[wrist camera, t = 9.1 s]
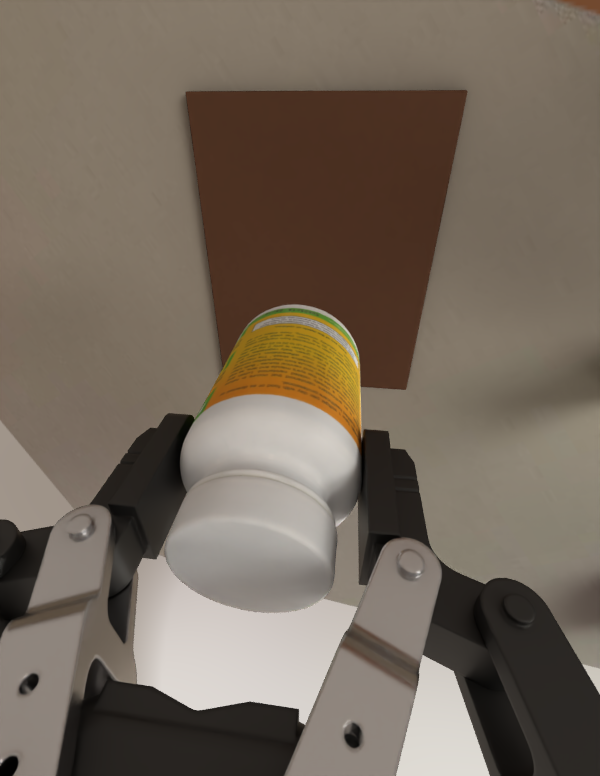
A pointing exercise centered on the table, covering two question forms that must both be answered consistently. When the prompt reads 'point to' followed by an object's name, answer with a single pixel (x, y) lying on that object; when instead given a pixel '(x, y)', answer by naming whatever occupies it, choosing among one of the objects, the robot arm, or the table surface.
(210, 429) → the supplement bottle
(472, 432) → the table surface
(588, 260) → the table surface
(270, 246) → the mat
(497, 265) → the table surface
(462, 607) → the robot arm
